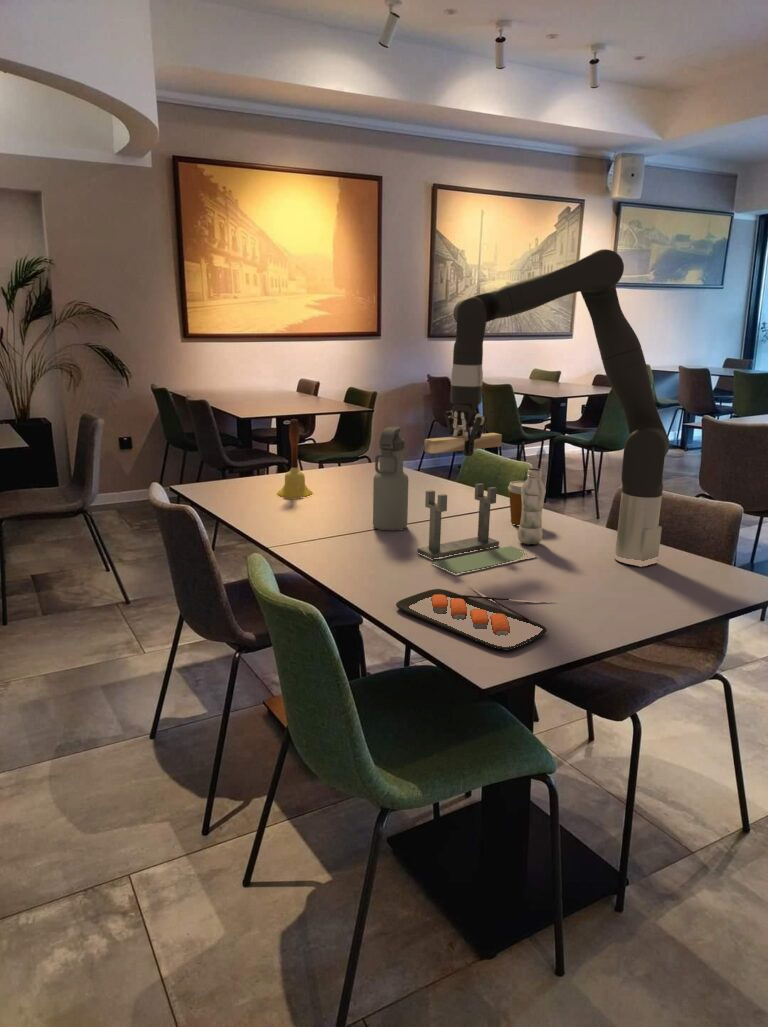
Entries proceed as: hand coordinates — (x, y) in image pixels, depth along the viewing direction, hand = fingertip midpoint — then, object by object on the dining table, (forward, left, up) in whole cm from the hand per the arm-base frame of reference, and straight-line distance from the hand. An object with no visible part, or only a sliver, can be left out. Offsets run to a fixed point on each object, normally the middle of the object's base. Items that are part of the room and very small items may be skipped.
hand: (463, 454), depth 177 cm
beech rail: (0, 0, +1) cm, 1 cm away
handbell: (+76, +8, -25) cm, 80 cm away
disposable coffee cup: (+10, -32, -25) cm, 42 cm away
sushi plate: (-35, +20, -26) cm, 48 cm away
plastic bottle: (-5, -20, -25) cm, 32 cm away
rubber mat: (-10, 0, -25) cm, 27 cm away
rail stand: (0, 0, -25) cm, 25 cm away
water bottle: (+27, +3, -25) cm, 37 cm away
